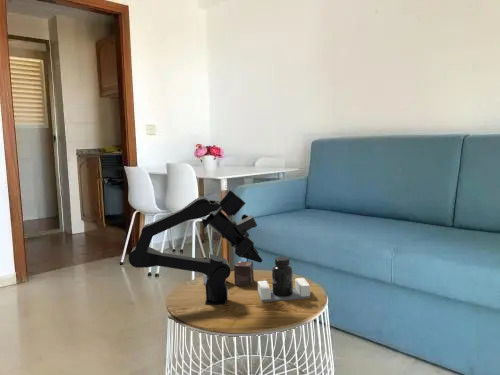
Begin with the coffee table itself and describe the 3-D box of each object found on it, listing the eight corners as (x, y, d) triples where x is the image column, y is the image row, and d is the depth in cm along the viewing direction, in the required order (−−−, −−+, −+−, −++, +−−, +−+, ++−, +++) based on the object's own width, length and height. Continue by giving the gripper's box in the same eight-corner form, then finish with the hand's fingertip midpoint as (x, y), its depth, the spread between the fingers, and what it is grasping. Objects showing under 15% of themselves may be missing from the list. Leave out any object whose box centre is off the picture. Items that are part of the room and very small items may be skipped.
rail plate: (261, 302, 135) (261, 289, 134) (257, 292, 144) (257, 280, 143) (310, 298, 137) (310, 286, 136) (303, 288, 146) (303, 277, 145)
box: (250, 286, 150) (250, 266, 150) (234, 285, 152) (233, 265, 151) (254, 280, 156) (253, 261, 155) (238, 280, 157) (237, 261, 157)
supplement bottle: (268, 294, 139) (267, 259, 138) (279, 288, 145) (278, 254, 144) (286, 298, 135) (285, 262, 134) (297, 292, 141) (296, 257, 140)
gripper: (244, 212, 126) (281, 246, 129) (238, 204, 145) (271, 233, 147) (219, 240, 126) (257, 273, 129) (216, 227, 144) (249, 257, 147)
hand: (259, 257), depth 138 cm, fingers open, 9 cm apart
